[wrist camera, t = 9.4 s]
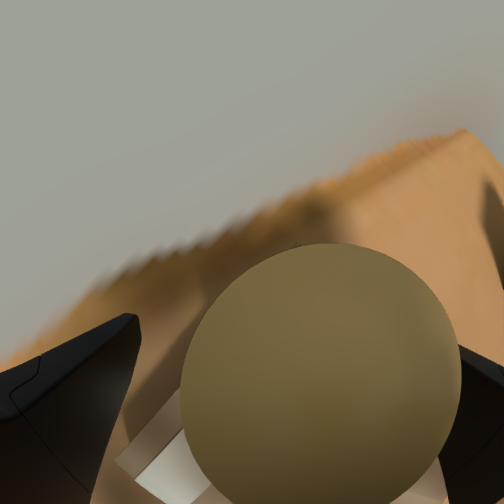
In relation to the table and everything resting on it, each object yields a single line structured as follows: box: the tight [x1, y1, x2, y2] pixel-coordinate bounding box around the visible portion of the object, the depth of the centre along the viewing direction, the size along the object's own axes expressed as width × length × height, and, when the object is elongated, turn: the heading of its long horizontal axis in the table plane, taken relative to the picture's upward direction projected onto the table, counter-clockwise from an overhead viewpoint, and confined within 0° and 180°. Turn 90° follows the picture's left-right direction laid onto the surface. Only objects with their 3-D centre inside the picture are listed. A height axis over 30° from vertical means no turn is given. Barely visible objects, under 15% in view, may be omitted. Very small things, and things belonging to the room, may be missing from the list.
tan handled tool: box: [180, 243, 461, 504], centre depth 9 cm, size 4×4×14 cm
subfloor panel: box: [113, 243, 447, 504], centre depth 12 cm, size 16×20×3 cm
